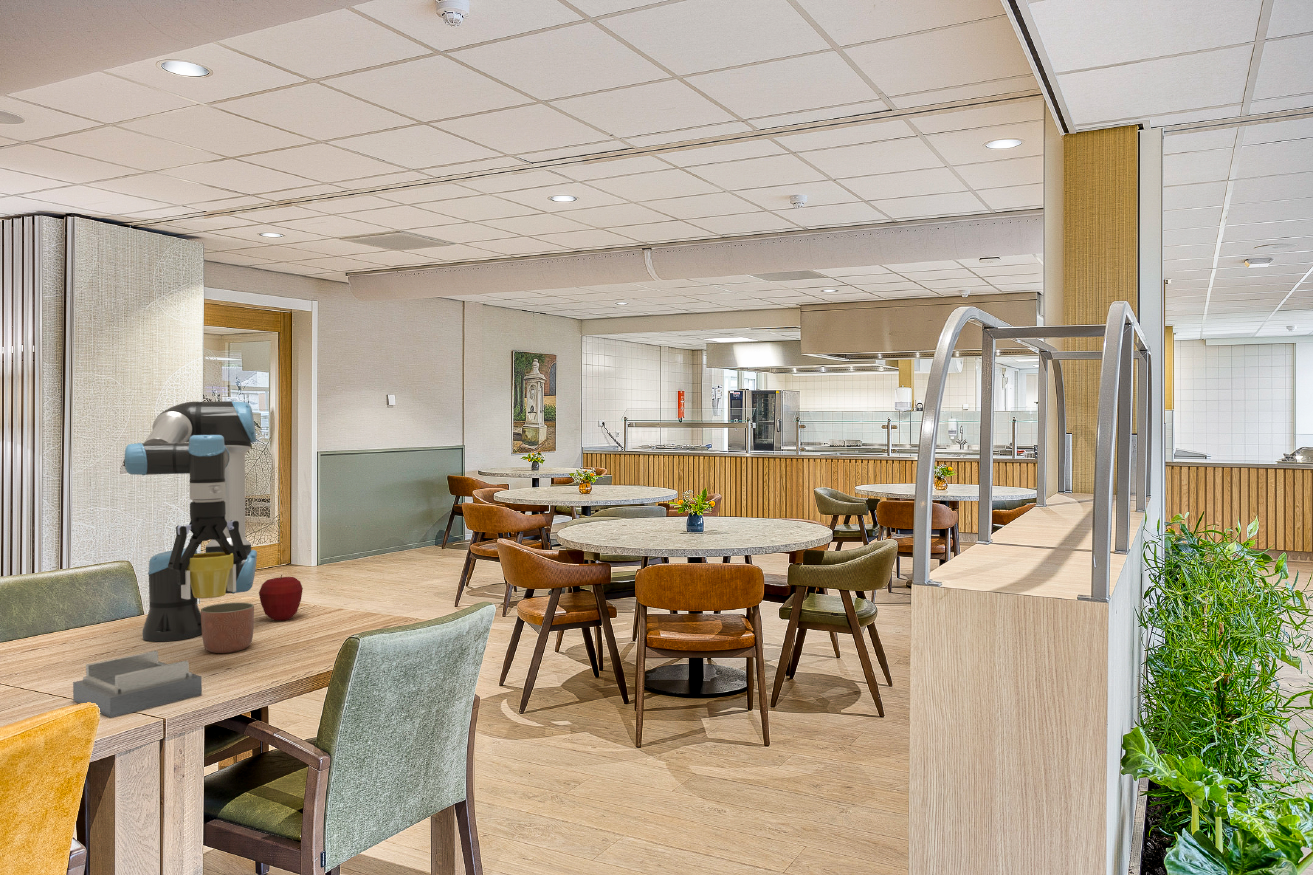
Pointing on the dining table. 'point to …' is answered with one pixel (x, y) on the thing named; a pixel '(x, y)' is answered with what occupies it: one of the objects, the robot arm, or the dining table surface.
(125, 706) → the grey square tray
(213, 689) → the dining table surface
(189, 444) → the robot arm
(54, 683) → the dining table surface
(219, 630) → the planter
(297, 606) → the apple
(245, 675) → the dining table surface
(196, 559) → the plant pot
